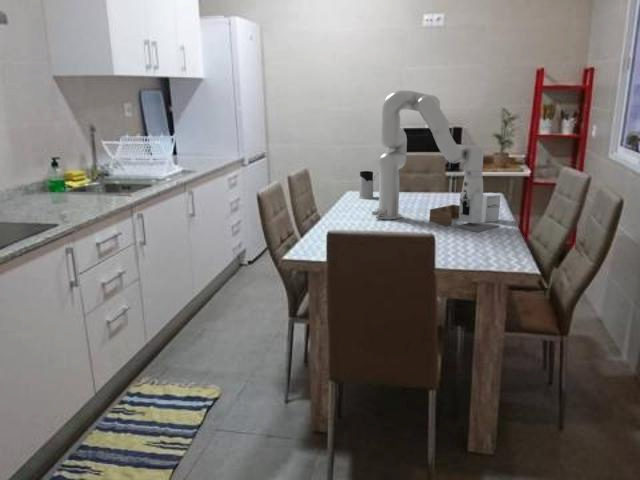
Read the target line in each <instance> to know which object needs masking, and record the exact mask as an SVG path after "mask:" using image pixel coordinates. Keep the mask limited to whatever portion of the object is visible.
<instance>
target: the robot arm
mask: <svg viewBox="0 0 640 480" xmlns="http://www.w3.org/2000/svg"><path fill="white" fill-rule="evenodd" d="M381 109H382V111H381V135H380V136H381V139H380V143H381V145H382V147H383V148H385V149H387V151H386V152H384V153H383V154H381V155H380V157H379V159H378V161H377V162H378V163H377V164H378V165H377V166H378V173H379V174H378V175H379V178H378V183H379V186H378V187H379V188H378V189H379V191H378V196H379V197H378V207H377V210H374V211H372V212H371V215H372V216H375V218H377V219H379V220H391V219H393V220H399V219H401V218H402V214H401V213H400V212H399V206H400V205H399V204H400V203H399V202H400V174H399V170H400V169H402V168H403V167H404V166H405V164H406V162H407V150H408V149H407V145H408V138H407V133H406V131H405V130H404V129H402V128H401V117H400V115H401V114H400V112H401V110H411V111H415V112H418V113H419V114H420V116H421V117H422V119H423V120H424V123H425V124H426V125H427V127H428V128H429V130H430V132H431V134H432V136H433V139H434V141H435V144H436V146H437V148H438V150H439V152H440V153H441V154H442V156H443V157H444V159H445V160H446V161H447V162H448V163H450V164H458V163H460V162H464V176H463V177H464V178H463V183H462V188H461V192H462V196H461V197H460V196H459V202H460V201H461V203H462V206H463V212H462V214H463V215H469V203H470V201H472V200H473V195H474V194H478V193H484V179H483V170H484V169H483V166H484V153H485V151H484V149H485V148H484V147H483V146H480V145H464V144H458V143H456V140H454V138H453V135H452V134H451V131H450V122H449V120H448V118H447V117H446V115H445V114H444V112H443V111H442V109H441V101H440V99H439V98H438V97H437V96H436V95H433V94H428V93H422V92H419V91H413V90H397V91H393V92H392V93H390V94H389V95H387V96H386V98H385V100H384V101H383V104H382V108H381ZM465 198H467V199H465ZM466 201H467V203H466Z"/></svg>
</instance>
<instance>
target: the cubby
mask: <svg viewBox="0 0 640 480" xmlns="http://www.w3.org/2000/svg"><path fill="white" fill-rule="evenodd" d="M459 209H460V205H457V204H450V205H445V206H439V207H434V208H431V209H429V222H430V223H432V224H437V225H442V226H447V227H452V221H453V218H455V219H459Z"/></svg>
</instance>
